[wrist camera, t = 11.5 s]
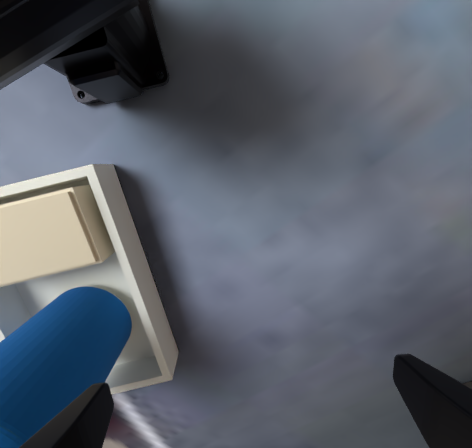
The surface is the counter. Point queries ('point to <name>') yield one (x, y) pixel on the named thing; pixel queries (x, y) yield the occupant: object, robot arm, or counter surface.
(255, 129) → the counter surface
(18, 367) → the beverage can
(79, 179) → the white rectangular tray
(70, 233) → the beige rectangular block
